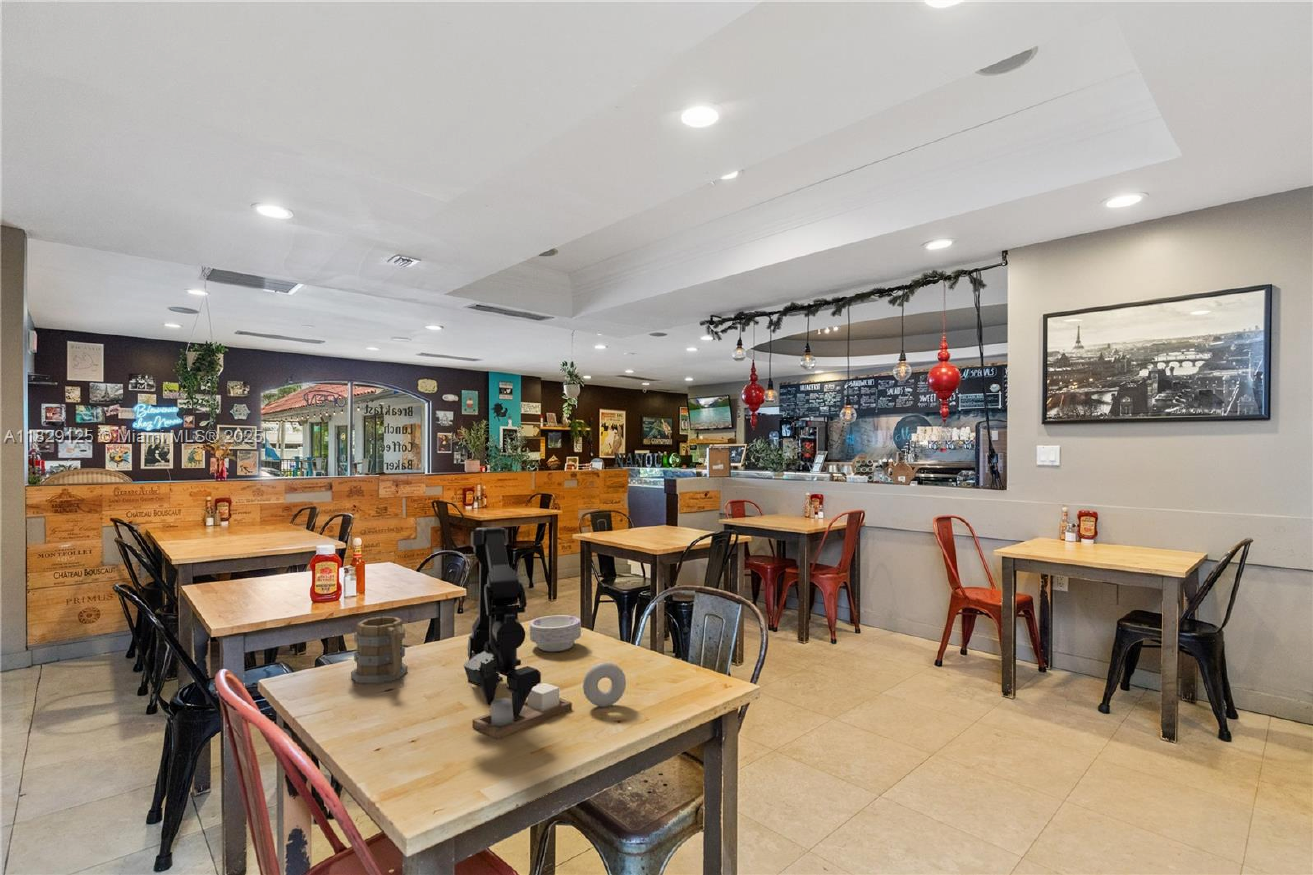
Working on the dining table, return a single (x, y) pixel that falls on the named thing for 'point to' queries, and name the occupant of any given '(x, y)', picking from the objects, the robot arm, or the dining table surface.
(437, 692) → the dining table surface
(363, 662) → the tankard
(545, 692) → the white rounded cube
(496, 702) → the salt cellar
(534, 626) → the paper bowls
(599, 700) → the donut
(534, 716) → the walnut caddy
